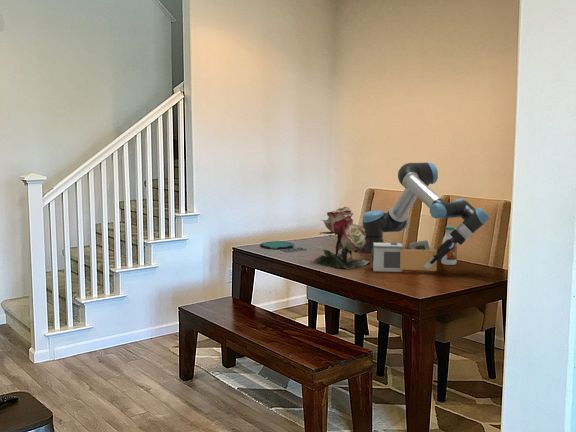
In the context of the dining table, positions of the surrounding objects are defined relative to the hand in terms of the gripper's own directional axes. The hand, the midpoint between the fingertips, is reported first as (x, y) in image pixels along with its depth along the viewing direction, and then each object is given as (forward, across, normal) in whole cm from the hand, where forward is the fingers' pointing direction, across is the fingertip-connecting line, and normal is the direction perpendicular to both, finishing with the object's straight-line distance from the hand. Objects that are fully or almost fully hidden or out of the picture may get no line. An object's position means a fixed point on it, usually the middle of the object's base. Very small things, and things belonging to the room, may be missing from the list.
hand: (425, 266), depth 296 cm
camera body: (+15, +6, +11) cm, 19 cm away
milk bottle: (-8, +24, -13) cm, 29 cm away
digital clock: (+2, +30, -3) cm, 30 cm away
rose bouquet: (+30, +19, +25) cm, 44 cm away
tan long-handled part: (+4, 0, +1) cm, 4 cm away
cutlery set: (+59, +61, +53) cm, 100 cm away
